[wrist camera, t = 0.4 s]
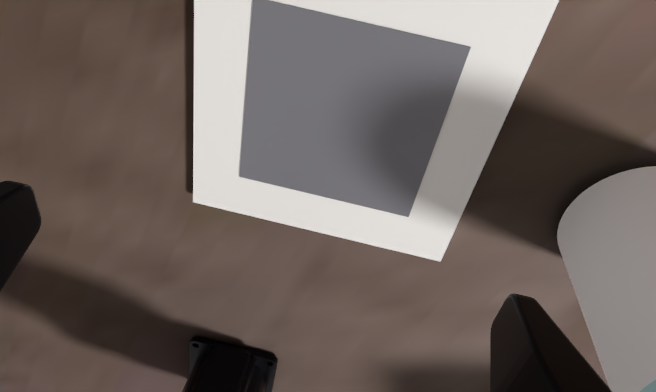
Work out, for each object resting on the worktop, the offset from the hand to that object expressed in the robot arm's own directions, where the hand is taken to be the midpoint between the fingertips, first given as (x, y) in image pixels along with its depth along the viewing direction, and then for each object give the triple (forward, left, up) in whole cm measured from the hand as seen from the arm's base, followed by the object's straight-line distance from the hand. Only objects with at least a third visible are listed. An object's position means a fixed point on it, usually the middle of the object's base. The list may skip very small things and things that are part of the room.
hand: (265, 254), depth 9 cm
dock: (-4, 0, -14) cm, 14 cm away
